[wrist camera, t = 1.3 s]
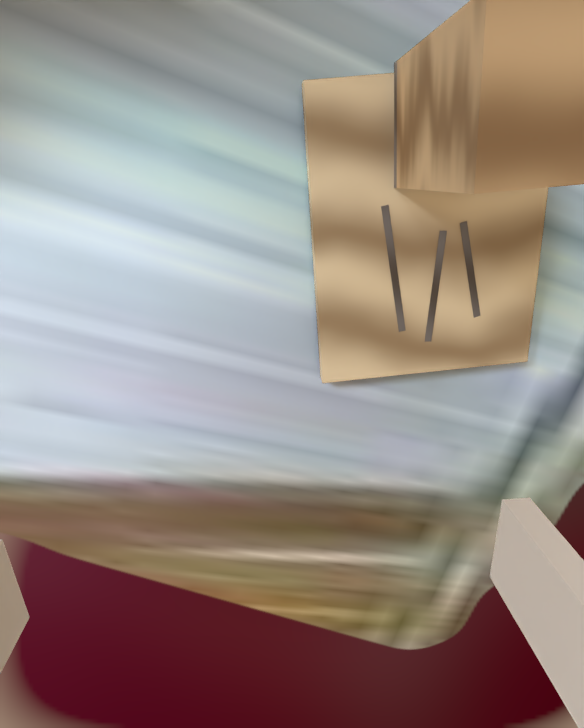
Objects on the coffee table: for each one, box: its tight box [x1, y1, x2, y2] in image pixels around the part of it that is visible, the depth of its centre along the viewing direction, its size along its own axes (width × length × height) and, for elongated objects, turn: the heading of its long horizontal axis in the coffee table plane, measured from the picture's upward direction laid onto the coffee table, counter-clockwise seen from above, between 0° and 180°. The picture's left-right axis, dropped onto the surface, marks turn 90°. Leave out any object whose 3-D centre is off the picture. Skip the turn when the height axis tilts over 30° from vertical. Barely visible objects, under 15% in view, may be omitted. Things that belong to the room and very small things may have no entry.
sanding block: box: [394, 0, 584, 194], centre depth 23 cm, size 7×5×12 cm
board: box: [302, 73, 548, 383], centre depth 32 cm, size 20×16×1 cm
